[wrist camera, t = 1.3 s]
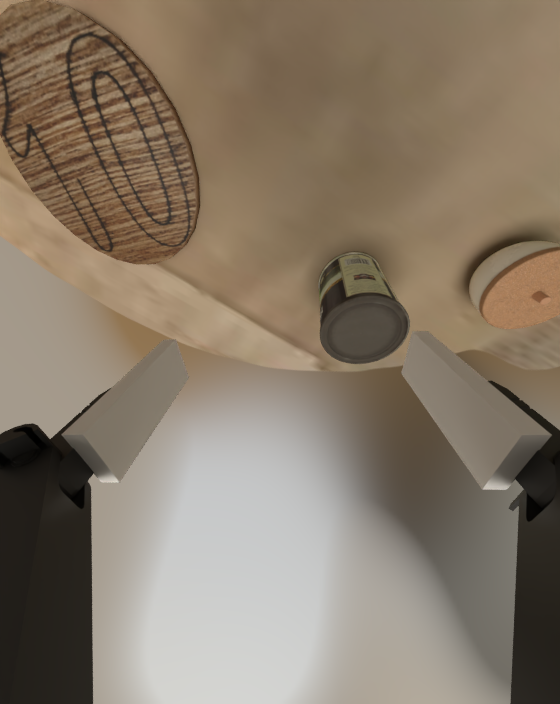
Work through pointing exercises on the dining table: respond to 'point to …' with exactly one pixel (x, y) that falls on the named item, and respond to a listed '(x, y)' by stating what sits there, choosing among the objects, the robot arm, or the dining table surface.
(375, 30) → the dining table surface
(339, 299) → the coffee can
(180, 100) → the dining table surface
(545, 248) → the lidded jar
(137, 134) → the trivet
